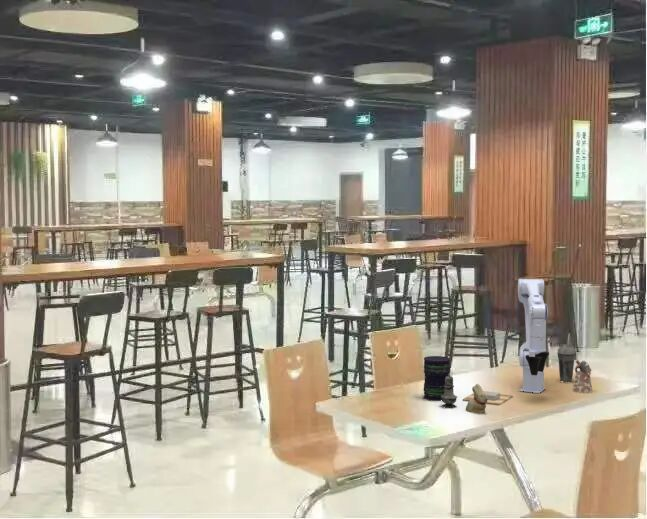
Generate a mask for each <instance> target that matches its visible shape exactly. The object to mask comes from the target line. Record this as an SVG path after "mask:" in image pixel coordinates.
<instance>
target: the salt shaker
mask: <svg viewBox="0 0 647 519" xmlns="http://www.w3.org/2000/svg"><path fill="white" fill-rule="evenodd" d="M444 387H445V393H444V395H442V396H441V398H442V401H441V402H442V403H443V404H441V408H444V407H445V409H456V408H457V405H455V403H456V402H457V398H458V396H457V395H455V394H454V387H455V385H454V378H453V376H452V375H451V373H450V374H448V376H446V377H445V385H444Z"/></svg>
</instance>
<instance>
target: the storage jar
mask: <svg viewBox="0 0 647 519" xmlns="http://www.w3.org/2000/svg"><path fill="white" fill-rule="evenodd" d="M423 361H424V362H423V374H424V382H423V399H424V400H426V401H431V400H432V402H442V401H441V400H442V398H441V396H442V395H444V393H445V387H444V385H445V377H446V376H448V374H450V375H451V358H450V357H448V356H442V355H429V356H428V355H427V356H426V357H423Z"/></svg>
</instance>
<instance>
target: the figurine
mask: <svg viewBox="0 0 647 519" xmlns="http://www.w3.org/2000/svg"><path fill="white" fill-rule="evenodd" d="M575 363H576V366H575V368H574V370H575V371H574V372H575V375H574V378H573V385H572V391H573V390H574V391H575V393H577V392H579V393H578V394H591V393H593V387H592V386H593V385H592V380H591V374H592V373H591V372H592V371H593V370H592V369H591V367H590V364H589V363H588V362H587V361H585V360H582V361H580V360H578V359H577V360H575ZM578 369H579V370H578ZM574 391H573V392H574ZM590 392H591V393H590Z"/></svg>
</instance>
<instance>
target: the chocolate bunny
mask: <svg viewBox="0 0 647 519" xmlns="http://www.w3.org/2000/svg"><path fill="white" fill-rule="evenodd" d="M471 389H472V394H473V393H474V399H472V400H470V401H469V402H468V401H467V404H466V407H465V410H466V411H467V412H469V413H472V414H486V408H487V404H485V403H486V402H487V400H488V398H487V395H486V393H484V392H483V391H484V390H483V389H482V386H481V385H480V384H479V383H475V385H473V386H472V388H471Z"/></svg>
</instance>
